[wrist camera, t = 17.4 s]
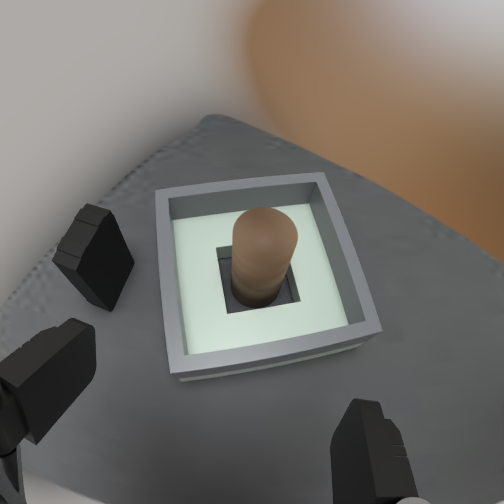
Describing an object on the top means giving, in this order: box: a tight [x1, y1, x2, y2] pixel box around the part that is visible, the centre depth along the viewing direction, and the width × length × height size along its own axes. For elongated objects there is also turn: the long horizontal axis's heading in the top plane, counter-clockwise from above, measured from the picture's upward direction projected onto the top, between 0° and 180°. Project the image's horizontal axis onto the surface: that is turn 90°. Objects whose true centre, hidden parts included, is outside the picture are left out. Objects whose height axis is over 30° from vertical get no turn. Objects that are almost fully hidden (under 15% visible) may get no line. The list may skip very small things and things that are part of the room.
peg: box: [231, 207, 298, 308], centre depth 23 cm, size 4×4×8 cm
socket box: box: [155, 172, 382, 382], centre depth 25 cm, size 14×14×5 cm
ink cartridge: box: [52, 204, 134, 311], centre depth 22 cm, size 5×2×8 cm, turn 163°
